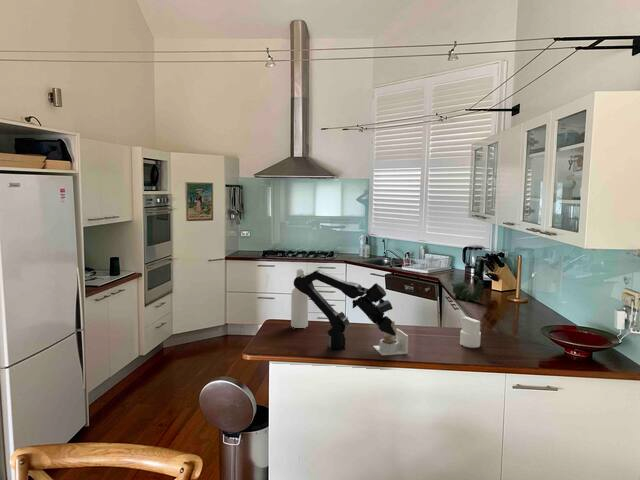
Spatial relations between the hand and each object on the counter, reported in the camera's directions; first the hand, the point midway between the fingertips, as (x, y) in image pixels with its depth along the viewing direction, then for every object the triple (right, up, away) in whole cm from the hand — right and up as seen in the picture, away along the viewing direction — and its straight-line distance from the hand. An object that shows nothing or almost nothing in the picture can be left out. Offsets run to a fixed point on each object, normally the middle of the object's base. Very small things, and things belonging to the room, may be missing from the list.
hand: (391, 331), depth 200 cm
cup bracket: (-1, -8, +1) cm, 8 cm away
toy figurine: (+67, 0, +105) cm, 125 cm away
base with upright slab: (+38, -8, +11) cm, 41 cm away
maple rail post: (-1, -8, +1) cm, 8 cm away
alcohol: (-43, -4, +34) cm, 55 cm away
